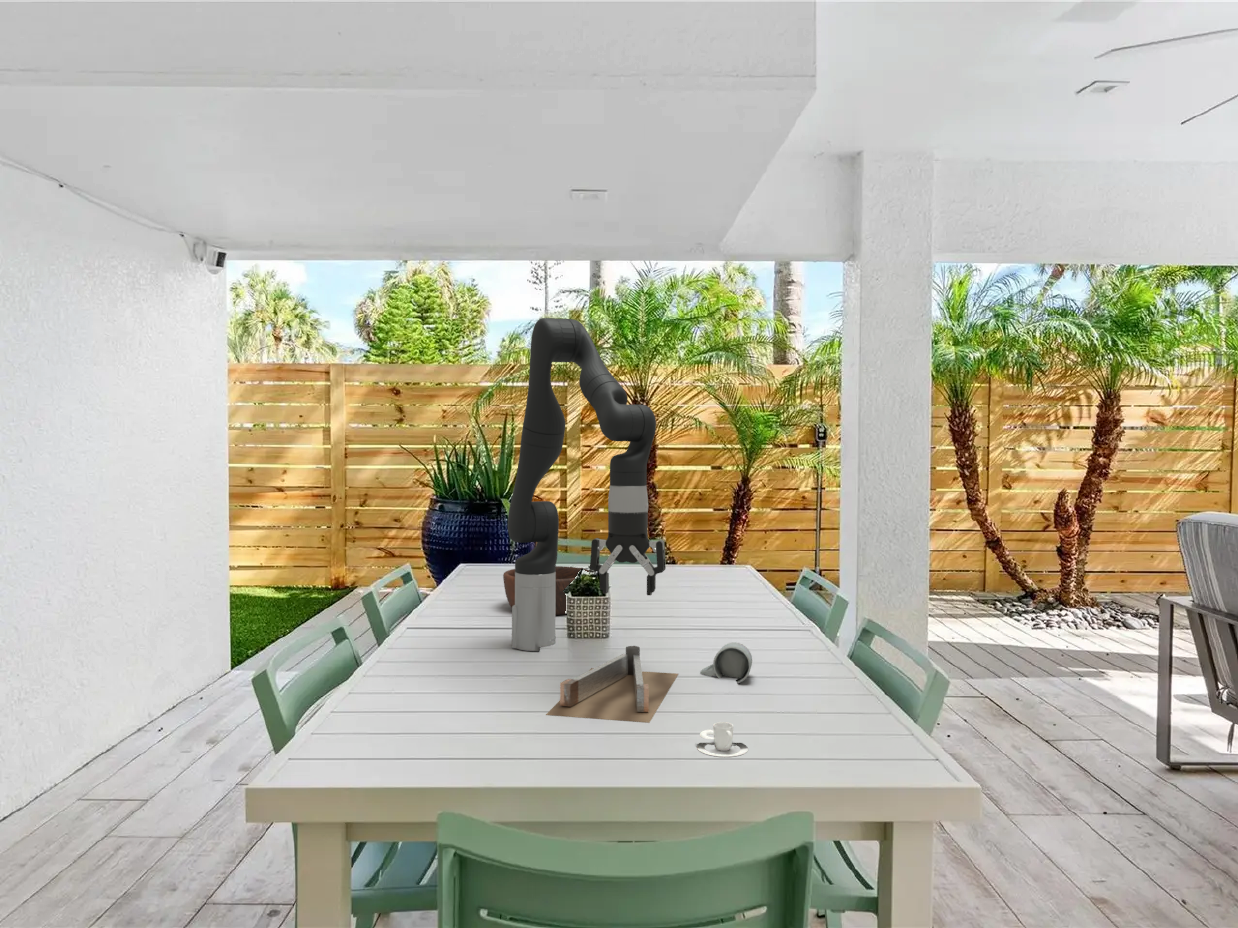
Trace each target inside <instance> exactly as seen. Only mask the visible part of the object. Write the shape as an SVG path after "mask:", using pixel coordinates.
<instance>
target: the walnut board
mask: <svg viewBox="0 0 1238 928" xmlns="http://www.w3.org/2000/svg"><path fill="white" fill-rule="evenodd" d="M640 651H641V648H640V647H639V646H636V645H628V646H626V647H625V654H627V655H628V675H627V676H625V677H623V678H621V679H619V680H618V681H616V682H614V683H612V684H610V685H609V686H607V687H605V688H603V689H601V690H600V691H598V692H596V693H594V694H593V695H591V696H589V697H587V698H585V699H584V700H582V701H580V702H578V703H576V704H575V705H573V706H571V707H567V706H560V700H559V701H557V703H556V704H554V706H552V708H551V709H550V710H549V711H548V712H547V713H546V714H545V716H553V717H566V718H579V719H590V720H591V719H593V720H606V721H620V722H632V723H635V722H636V723H645V724H646V723H648V724H650V722H651V721H652V719H653V718H654V716H655V714H656V712H657V711H658V709H659V707H660V706H661V704H662V703H663V701H664V700H665V697H666V696H667V694H668V692H669V691H670V689H671V688H672V686H673V684H674V682H675V681H676V679H677V677H678V676H679V673H672V672H660V671H659V672H657V671H643V670H642V677H643V684H648V687H649V712H637V707H636V697H635V687H634V676H633V656H634V655H641V653H640ZM594 668H595V667H594ZM594 668H593V667H591V668H590V669H589V670H588V671H590V670H592V669H594Z"/></svg>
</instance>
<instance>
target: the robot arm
mask: <svg viewBox="0 0 1238 928" xmlns="http://www.w3.org/2000/svg"><path fill="white" fill-rule="evenodd" d="M529 351H530V353H529V376H528V387H527V397H526V402H525V403H526V405H525V411H524V417H523V421H522V430H521V435H520V436H521V437H520V445H519V446H520V449H519V456H518V463H517V464H518V465H517V471H516V472H517V473H516V478H515V482H514V487H513V491H512V495H511V500H510V503H509V509H508V516H507V532H508V536H509V538H510V539H511V541H512V542H515V543H522V544H523V543H527V544H528V543H536V545H535V547H534V548H533V549H532V550H531V551H529V552H527V553H526V554H524V555H522V556H519V557H518V558H517V559H515V563H514V569H515V605H514V606H512V608H511V648H512V649H518V650H520V651H527V652H529V651H531V652H538V651H539V652H540V651H541V648H546V647H551V646H554V645H555V644H556V615H555V609H556V585H555V584H556V572H555V571H556V566H557V560H558V550H559V549H558V547H559V546H558V545H559V532H560V531H559V528H560V522H559V521H560V520H559V519H560V516H559V512H558V508H557V506H556V504H555V503H554V502H553V501H550V500H549V501H548V500H544V501H543V500H541V501H540V500H539V501H537V500H536V501H533V499H534V494H535V492H536V490H537V487H538V485H539V484H540V482H541V480H542V479H543V477H544V476H545V475H546V474H547V473H548V472H549V470H550V469H551V468H552V467H553V465H554V464H555V463H556V462H557V459H558V458H559V457H560V455H561V452H562V450H563V444H564V440H565V431H566V418H565V415H564V412H563V410H562V408H561V405H560V403H559V402H558V399H557V396H556V395H555V392H554V389H553V387H552V376H551V373H552V372H551V371H552V364H553V363H574V364H575V365H577V366H578V367H579V368H580V369H581V370H580V373H579V378H578V379H579V388H580V391H581V393H582V395H583V397H584V398H585V399H586V401H587V402H588V403H589V405H590V406H591V407H592V408H593V409H594V411H595V414H596V418H597V420H598V424H599V428H600V431H601V433H602V434H603V436H604V437H606V438H607V439H609V440H611V441H613V442H629V444H628V447H627V449H626V451H625V452H622V453H618V454H615V455H613V456H612V457H611V458H610V462H609V492H608V499H607V501H608V504H607V506H608V507H607V508H608V509H607V517H608V519H607V520H608V521H607V523H608V525H607V527H608V530H607V531H608V533H607V534H608V535H607V539H600V538H599V537H596V538H594V539H592V540H591V545H590V561H589V564H590V565H589V568H590V569H589V570H590V571H595V572H597V573H598V574H599V590H600V591H602V594H608V593H609V590H610V588H609V587H610V582H609V581H610V576H609V575H610V573H609V572H608V571H609V569H611V567H612V566H613V564H614V563H615V562H618V563H629V564H636V563H639V565H640V566H641V567H642V568H643V569H644V570H645V571H646V573H647V576H646V595H647V596H652V594H653V593H655V592H656V585H657V584H656V582H657V581H656V577H657V576H656V575H658V574H661V573H664V571H665V570H666V553H665V552H666V550H665V541H664V540H663V539H660V540H653V541H652V540H651V541H650V539H649V536H648V535H649V534H648V533H649V532H648V531H649V530H648V528H649V526H648V524H649V523H648V517H649V515H648V514H649V513H648V511H649V499H648V498H649V497H648V490H647V489H648V488H647V485H648V483H647V477H648V476H647V475H648V474H647V467H648V466H647V464H648V461H649V458H650V454H651V453H650V452H651V449H652V444H653V442H654V438H655V434H656V430H657V421H656V416H655V414H654V412H653V410H652V409H651V407H649V406H647V405H645V404H628V401H629V400H628V395H627V392H626V390H625V389H624V387H623V386H622V385H621V384H620V383H619V381H618V380H617V379H616V378H615V377H614V376H613V374H612V373H611V372H610V371H609V369H608V368H607V367H606V365H605V363H604V360H602V358H601V356H600V354H599V351H598V348H597V346H596V345H595V344H594V342H593V340H592V337H591V336H590V334H589V332H588V331H587V328H586V327H585V326H584V325H583V323H581V322H580V321H578V320H576V319H572V318H559V317H557V318H556V317H554V318H553V317H541V318H539V319H538V320H536V322H535V323H534V325H533V329H532V332H531V339H530V349H529ZM605 546H606V547H605ZM604 547H605V548H607V550H608V551H609V553H610V555H609V556H608V557H607V559H606V560H605V561H604V563H603V564H600V556H601V553H600V551H602V550H603V549H604ZM650 547H651V548H652V551H653V553H655V555H656V566H654V564H653V563H652V562H651V560H650V558H649V556H647V554H646V553H647V551H648V550H649V549H650Z"/></svg>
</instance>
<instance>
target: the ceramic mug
mask: <svg viewBox="0 0 1238 928" xmlns="http://www.w3.org/2000/svg"><path fill="white" fill-rule="evenodd" d="M752 666H753V655H752V653H751V651H750V649H749V648H748V647H747V646H746V645H744V644H743V643H740V642H737V641H736V642H728V643H727V644H724V645H723V646H722V647H721V648H720V649H719V651H717V653H716V655H715V656H714V658H713V662H712V664H710V665H708V666H706V667H704V668H702V669H701V670H700V674H701V675H702V676H707V677H713V676H716V677H717V679H722V676H725V677H729V678H736V679H735V682H736V684H740V683H743V682H744V681H745V680H746V679H747V678H748V676H749V675H750V672H751V669H752Z"/></svg>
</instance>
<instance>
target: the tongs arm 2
mask: <svg viewBox="0 0 1238 928" xmlns="http://www.w3.org/2000/svg"><path fill="white" fill-rule="evenodd" d="M640 655H641V654H640ZM640 655H634V656H633V676H634V687H635V697H636V707H637V712H649V687H648V684H643V677H642V671H643V670H642V662H641V657H640Z"/></svg>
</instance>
